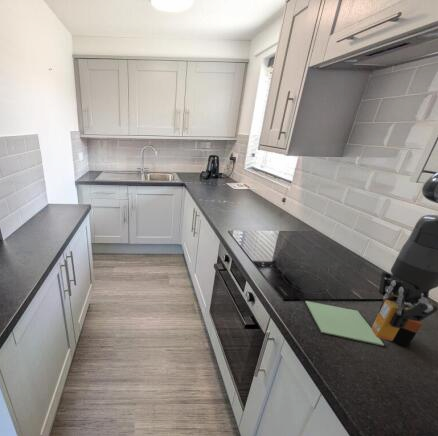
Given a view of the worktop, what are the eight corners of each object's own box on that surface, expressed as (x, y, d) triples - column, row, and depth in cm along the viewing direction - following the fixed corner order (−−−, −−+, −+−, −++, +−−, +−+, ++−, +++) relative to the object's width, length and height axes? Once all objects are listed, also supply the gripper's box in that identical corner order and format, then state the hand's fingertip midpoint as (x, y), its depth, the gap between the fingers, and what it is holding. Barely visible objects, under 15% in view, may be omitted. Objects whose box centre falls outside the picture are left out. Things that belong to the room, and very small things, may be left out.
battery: (387, 339, 69) (402, 313, 65) (384, 325, 74) (398, 301, 70) (407, 347, 67) (424, 321, 63) (403, 333, 71) (418, 308, 68)
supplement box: (385, 331, 61) (403, 302, 57) (392, 342, 58) (411, 312, 54) (369, 327, 62) (385, 298, 58) (375, 337, 59) (393, 308, 55)
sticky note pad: (356, 311, 79) (357, 310, 79) (383, 346, 67) (384, 344, 67) (305, 301, 83) (305, 300, 83) (321, 332, 71) (321, 331, 70)
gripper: (476, 283, 44) (431, 347, 51) (417, 249, 57) (388, 304, 63) (427, 276, 46) (390, 339, 52) (381, 244, 59) (356, 298, 65)
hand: (389, 319), depth 58 cm, fingers closed on supplement box, 3 cm apart
